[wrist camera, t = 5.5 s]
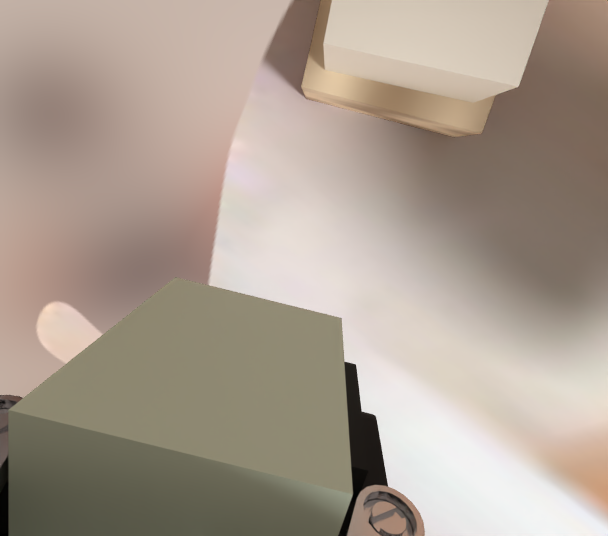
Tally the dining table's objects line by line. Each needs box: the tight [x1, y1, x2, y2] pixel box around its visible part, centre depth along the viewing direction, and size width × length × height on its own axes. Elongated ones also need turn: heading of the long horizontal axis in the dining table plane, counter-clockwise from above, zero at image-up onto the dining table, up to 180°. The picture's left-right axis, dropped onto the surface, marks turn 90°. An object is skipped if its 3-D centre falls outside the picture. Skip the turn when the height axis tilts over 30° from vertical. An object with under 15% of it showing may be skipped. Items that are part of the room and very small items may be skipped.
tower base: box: [301, 0, 496, 137], centre depth 21 cm, size 10×10×5 cm
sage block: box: [8, 277, 353, 536], centre depth 9 cm, size 5×5×6 cm
